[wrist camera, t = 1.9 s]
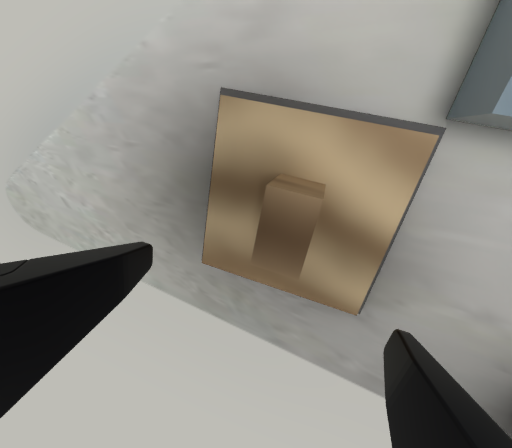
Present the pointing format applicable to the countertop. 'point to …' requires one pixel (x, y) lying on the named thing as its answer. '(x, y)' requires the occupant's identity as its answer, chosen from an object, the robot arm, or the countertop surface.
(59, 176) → the countertop surface
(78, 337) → the robot arm
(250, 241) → the oak lid
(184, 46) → the countertop surface
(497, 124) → the ceramic dish
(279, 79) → the countertop surface
